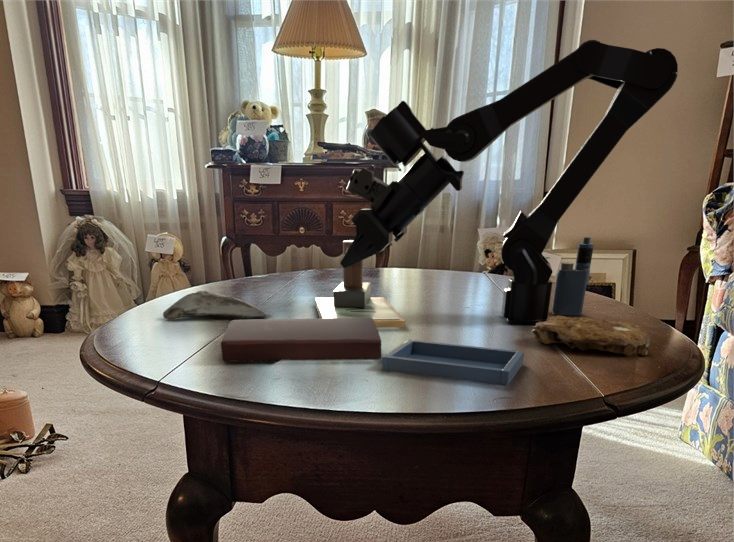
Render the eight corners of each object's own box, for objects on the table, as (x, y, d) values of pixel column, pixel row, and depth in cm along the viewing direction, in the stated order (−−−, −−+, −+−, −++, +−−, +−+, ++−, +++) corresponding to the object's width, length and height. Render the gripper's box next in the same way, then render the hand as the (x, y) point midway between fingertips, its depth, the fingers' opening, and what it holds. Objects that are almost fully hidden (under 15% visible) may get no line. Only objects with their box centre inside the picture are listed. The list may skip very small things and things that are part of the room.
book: (381, 363, 80) (382, 336, 79) (222, 364, 79) (219, 337, 77) (371, 340, 91) (372, 316, 90) (232, 340, 90) (230, 316, 89)
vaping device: (584, 316, 108) (597, 238, 103) (553, 315, 108) (564, 238, 103) (580, 313, 111) (592, 237, 105) (549, 312, 111) (560, 236, 105)
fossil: (256, 302, 98) (161, 288, 99) (253, 333, 100) (160, 318, 101) (275, 299, 109) (189, 286, 110) (273, 327, 110) (188, 314, 111)
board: (315, 306, 113) (315, 297, 113) (383, 305, 115) (383, 296, 114) (324, 331, 96) (324, 320, 95) (405, 330, 97) (405, 319, 97)
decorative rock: (531, 358, 85) (651, 369, 82) (536, 327, 83) (660, 337, 80) (527, 334, 94) (635, 343, 92) (532, 305, 92) (643, 314, 90)
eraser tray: (381, 373, 76) (382, 356, 75) (408, 355, 84) (408, 339, 83) (506, 389, 71) (508, 371, 70) (522, 367, 79) (524, 351, 78)
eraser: (342, 296, 114) (341, 238, 109) (370, 297, 113) (371, 238, 109) (333, 307, 105) (332, 243, 100) (364, 307, 104) (365, 244, 100)
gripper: (390, 150, 106) (325, 221, 113) (366, 145, 90) (292, 230, 97) (435, 204, 108) (369, 271, 115) (420, 209, 92) (344, 287, 99)
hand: (344, 264), depth 107 cm, fingers closed on eraser, 3 cm apart
